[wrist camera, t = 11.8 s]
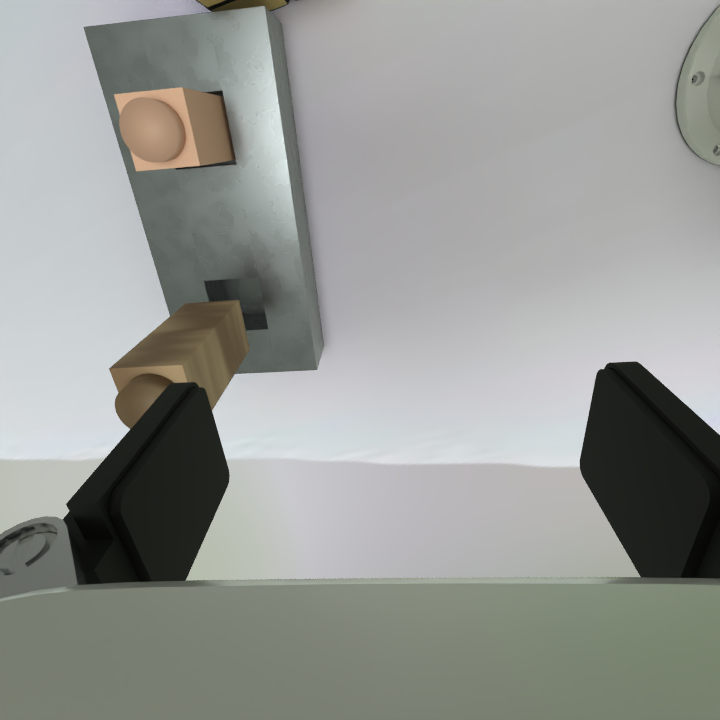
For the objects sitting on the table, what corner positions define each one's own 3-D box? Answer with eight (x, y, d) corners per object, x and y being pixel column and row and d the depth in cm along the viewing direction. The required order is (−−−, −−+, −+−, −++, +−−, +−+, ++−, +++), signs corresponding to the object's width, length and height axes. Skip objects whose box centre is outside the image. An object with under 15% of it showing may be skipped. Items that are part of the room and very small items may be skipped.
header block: (281, 23, 32) (264, 5, 27) (323, 345, 43) (316, 369, 39) (124, 41, 33) (83, 27, 28) (207, 351, 44) (188, 376, 40)
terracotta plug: (236, 99, 33) (172, 85, 23) (246, 157, 35) (192, 167, 25) (185, 105, 33) (101, 92, 23) (198, 162, 35) (125, 172, 25)
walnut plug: (239, 299, 31) (172, 376, 21) (249, 349, 33) (192, 440, 23) (185, 303, 32) (95, 379, 22) (199, 352, 34) (122, 443, 24)
